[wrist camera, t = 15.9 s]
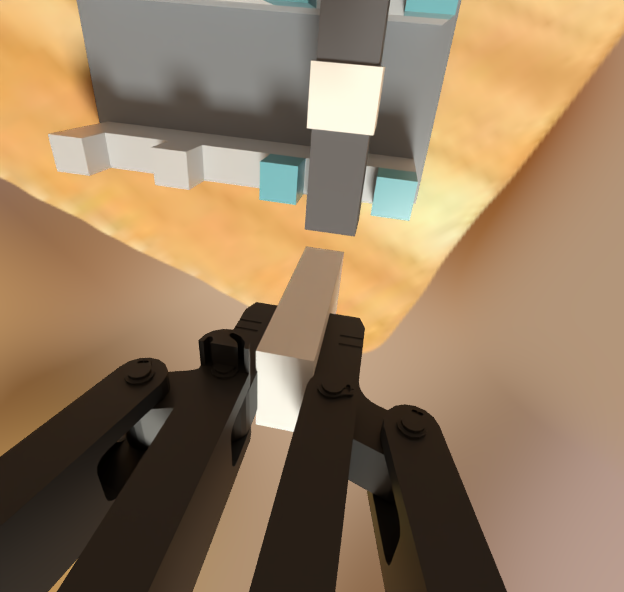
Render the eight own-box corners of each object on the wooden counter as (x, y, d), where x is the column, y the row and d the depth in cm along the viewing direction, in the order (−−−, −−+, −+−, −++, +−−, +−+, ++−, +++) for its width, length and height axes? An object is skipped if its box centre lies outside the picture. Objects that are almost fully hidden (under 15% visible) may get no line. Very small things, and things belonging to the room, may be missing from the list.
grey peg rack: (72, -65, 33) (-26, -103, 25) (468, -39, 29) (494, -74, 21) (112, 159, 42) (49, 181, 34) (415, 200, 38) (419, 234, 31)
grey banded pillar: (332, -77, 25) (321, -103, 21) (406, -74, 24) (407, -99, 20) (310, 211, 35) (300, 230, 31) (362, 218, 34) (358, 238, 30)
